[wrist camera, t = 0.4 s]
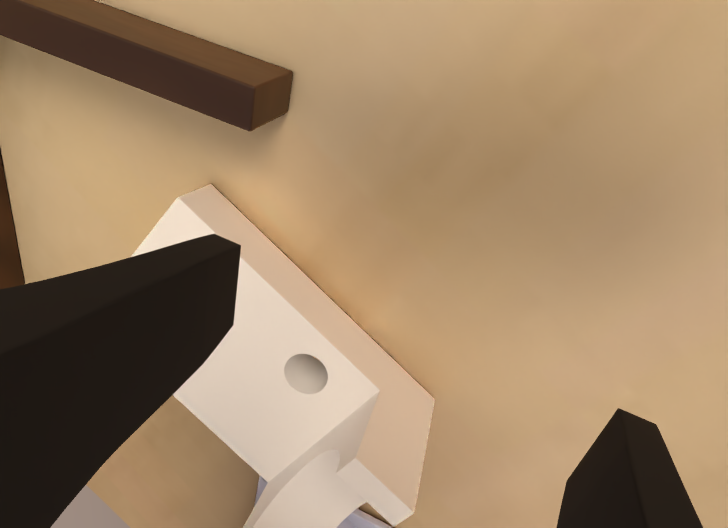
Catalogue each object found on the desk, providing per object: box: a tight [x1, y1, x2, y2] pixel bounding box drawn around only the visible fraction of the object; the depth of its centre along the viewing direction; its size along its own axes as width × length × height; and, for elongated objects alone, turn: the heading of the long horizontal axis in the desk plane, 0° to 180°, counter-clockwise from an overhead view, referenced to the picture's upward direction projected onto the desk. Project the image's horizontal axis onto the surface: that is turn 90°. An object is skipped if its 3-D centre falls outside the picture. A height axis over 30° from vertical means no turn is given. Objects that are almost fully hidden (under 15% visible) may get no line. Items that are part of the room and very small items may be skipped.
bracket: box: [131, 184, 435, 528], centre depth 22 cm, size 13×7×8 cm, turn 51°
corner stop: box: [0, 0, 293, 289], centre depth 24 cm, size 17×16×2 cm
